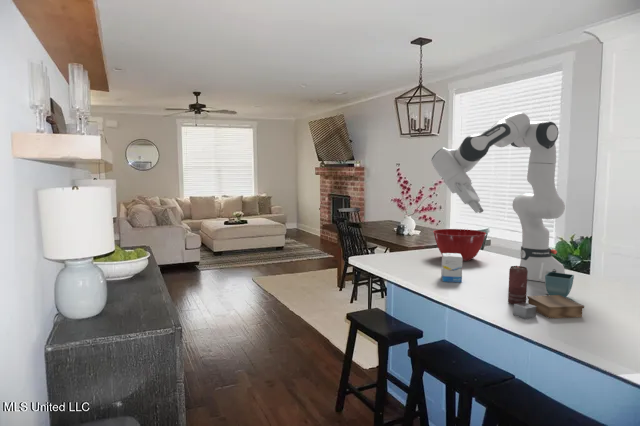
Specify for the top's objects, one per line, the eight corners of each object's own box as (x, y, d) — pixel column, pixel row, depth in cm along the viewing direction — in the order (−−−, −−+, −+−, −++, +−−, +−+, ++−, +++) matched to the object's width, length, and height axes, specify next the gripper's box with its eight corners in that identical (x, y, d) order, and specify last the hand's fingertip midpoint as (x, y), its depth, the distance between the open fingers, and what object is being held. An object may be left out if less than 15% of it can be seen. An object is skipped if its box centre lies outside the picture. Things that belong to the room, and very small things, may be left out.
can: (520, 300, 161) (522, 265, 159) (529, 306, 154) (531, 269, 153) (504, 301, 161) (506, 265, 159) (512, 306, 154) (514, 269, 153)
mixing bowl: (422, 255, 247) (423, 229, 246) (463, 252, 256) (464, 227, 254) (451, 265, 220) (452, 236, 219) (496, 262, 229) (497, 234, 227)
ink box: (462, 282, 187) (463, 256, 186) (442, 281, 189) (443, 256, 188) (459, 277, 195) (460, 253, 194) (440, 276, 197) (441, 252, 196)
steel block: (523, 313, 147) (523, 302, 147) (535, 317, 143) (536, 306, 143) (513, 315, 145) (513, 304, 145) (525, 320, 141) (526, 308, 140)
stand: (558, 305, 155) (559, 295, 155) (583, 317, 143) (584, 305, 142) (526, 306, 154) (527, 296, 154) (548, 318, 142) (549, 307, 141)
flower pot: (548, 292, 172) (549, 271, 171) (573, 296, 166) (574, 274, 165) (543, 297, 165) (544, 275, 164) (569, 302, 159) (570, 279, 159)
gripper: (461, 177, 158) (483, 207, 155) (470, 180, 176) (490, 207, 172) (447, 187, 161) (468, 216, 157) (457, 189, 179) (477, 216, 175)
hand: (480, 212), depth 165 cm, fingers open, 8 cm apart
